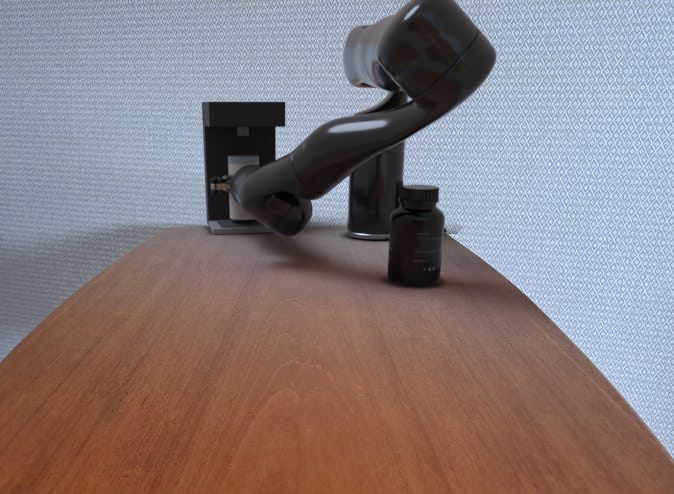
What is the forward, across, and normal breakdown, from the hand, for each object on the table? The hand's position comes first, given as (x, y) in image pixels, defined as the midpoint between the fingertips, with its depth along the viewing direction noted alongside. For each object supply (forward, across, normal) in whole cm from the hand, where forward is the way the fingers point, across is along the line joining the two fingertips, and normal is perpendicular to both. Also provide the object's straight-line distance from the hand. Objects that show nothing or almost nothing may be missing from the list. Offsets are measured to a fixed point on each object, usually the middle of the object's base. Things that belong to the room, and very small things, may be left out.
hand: (242, 180), depth 125 cm
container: (-3, 0, -6) cm, 7 cm away
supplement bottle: (-47, +16, -9) cm, 50 cm away
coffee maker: (-2, 0, -8) cm, 9 cm away
